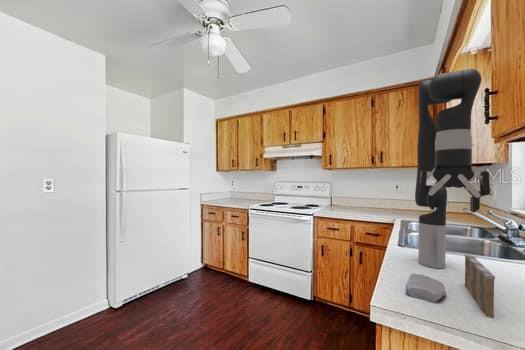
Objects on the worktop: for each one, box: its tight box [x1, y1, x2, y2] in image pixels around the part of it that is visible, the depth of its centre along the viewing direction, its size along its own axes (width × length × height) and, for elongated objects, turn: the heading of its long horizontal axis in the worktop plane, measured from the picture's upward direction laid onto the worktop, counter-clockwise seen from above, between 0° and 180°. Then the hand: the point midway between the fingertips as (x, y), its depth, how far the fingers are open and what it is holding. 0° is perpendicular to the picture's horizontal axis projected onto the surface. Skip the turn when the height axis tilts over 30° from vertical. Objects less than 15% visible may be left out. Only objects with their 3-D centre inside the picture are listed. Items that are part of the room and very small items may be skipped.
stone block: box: [405, 273, 447, 303], centre depth 75 cm, size 12×5×10 cm
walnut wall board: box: [464, 253, 496, 319], centre depth 71 cm, size 20×2×11 cm, turn 152°
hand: (451, 210), depth 62 cm, fingers open, 8 cm apart
